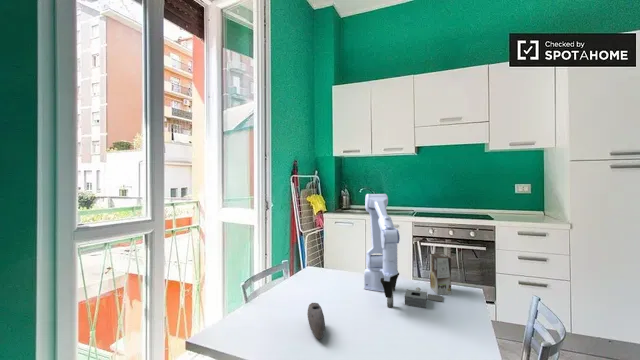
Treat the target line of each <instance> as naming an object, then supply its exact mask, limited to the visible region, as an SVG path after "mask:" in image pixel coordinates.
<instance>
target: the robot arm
mask: <svg viewBox="0 0 640 360" xmlns="http://www.w3.org/2000/svg"><path fill="white" fill-rule="evenodd" d="M364 201H365V202H364V204H365V207H364V208H365V211H366V212H367V213H369V218H370V219H369V221H370V223H369V224H370V238H371V239H370V240H371V247H370V248H369V249H368V250H367V251H366V253H365V254H366V255H365V264H366V265H365V266H366V268H365V269H364V273H363V274H364V276H363V277H364V279H363V280H364V281H363V282H364V283H363V285H364V286H363V287H364V288H363V289H364V290H369V291H375V292H383V293H384V296H385V298H386V299H387V298H391V297H392V292H393V293H394V292H395V291H396V286H397V280H398V278H399V275H400V272H399V269H398V244H400V240H401V239H400V231H399V229H398V228H396V227H395V225H394V222H393V219H392V217H391V216H390V215H388V212H387V206H388V204H389V197H388V195H387V193H366V194H365V199H364Z"/></svg>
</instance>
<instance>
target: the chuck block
mask: <svg viewBox="0 0 640 360" xmlns="http://www.w3.org/2000/svg"><path fill="white" fill-rule="evenodd" d="M427 296H428V293H427V291H423V290H422V291H421V288H420V287H418V286H417V287H416V288H415V289H414V290H413V289H406V291H405V294H404V306H409V307H417V308H423V309H426V308H427V302H428V300H427Z"/></svg>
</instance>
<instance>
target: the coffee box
mask: <svg viewBox="0 0 640 360" xmlns="http://www.w3.org/2000/svg"><path fill="white" fill-rule="evenodd" d="M429 276H430V277H429V279H430V280H429V282H430V283H429V284H430V285H429V288H430V289H431V290H432V291H434V293H435V294H436V295H452V257H449V256H448V255H446V254H444V253H439V252H438V253H429Z"/></svg>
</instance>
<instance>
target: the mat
mask: <svg viewBox="0 0 640 360" xmlns="http://www.w3.org/2000/svg"><path fill="white" fill-rule="evenodd" d="M443 297H444V296H443V295H440V294H431V293H427V301H431V302H436V303H443V302H444V301H443V300H444V299H443Z"/></svg>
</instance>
